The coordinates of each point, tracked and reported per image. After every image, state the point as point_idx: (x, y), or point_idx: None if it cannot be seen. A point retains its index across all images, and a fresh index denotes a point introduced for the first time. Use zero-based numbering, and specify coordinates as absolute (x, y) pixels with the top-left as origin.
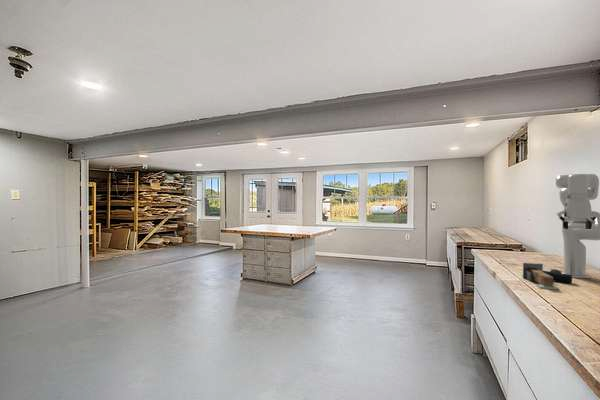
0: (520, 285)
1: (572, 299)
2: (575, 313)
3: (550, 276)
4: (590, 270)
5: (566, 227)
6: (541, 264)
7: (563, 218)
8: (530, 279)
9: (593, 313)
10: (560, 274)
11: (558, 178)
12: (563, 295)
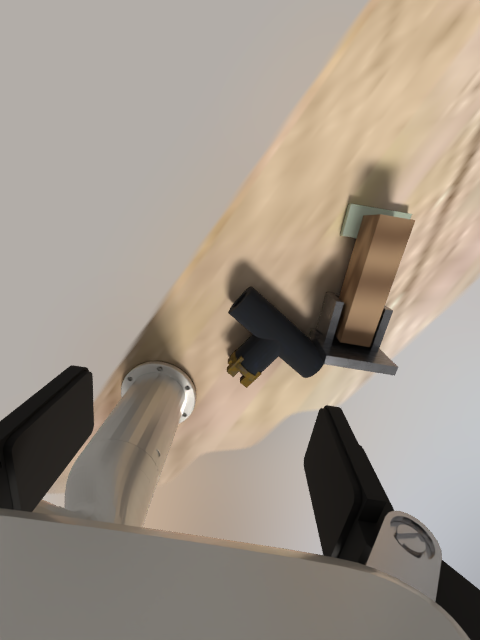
0: (454, 244)
1: (399, 70)
2: None
3: (382, 227)
4: None
5: (343, 422)
6: (330, 355)
7: (460, 612)
8: None
9: None
10: (268, 317)
11: None
12: (391, 125)
